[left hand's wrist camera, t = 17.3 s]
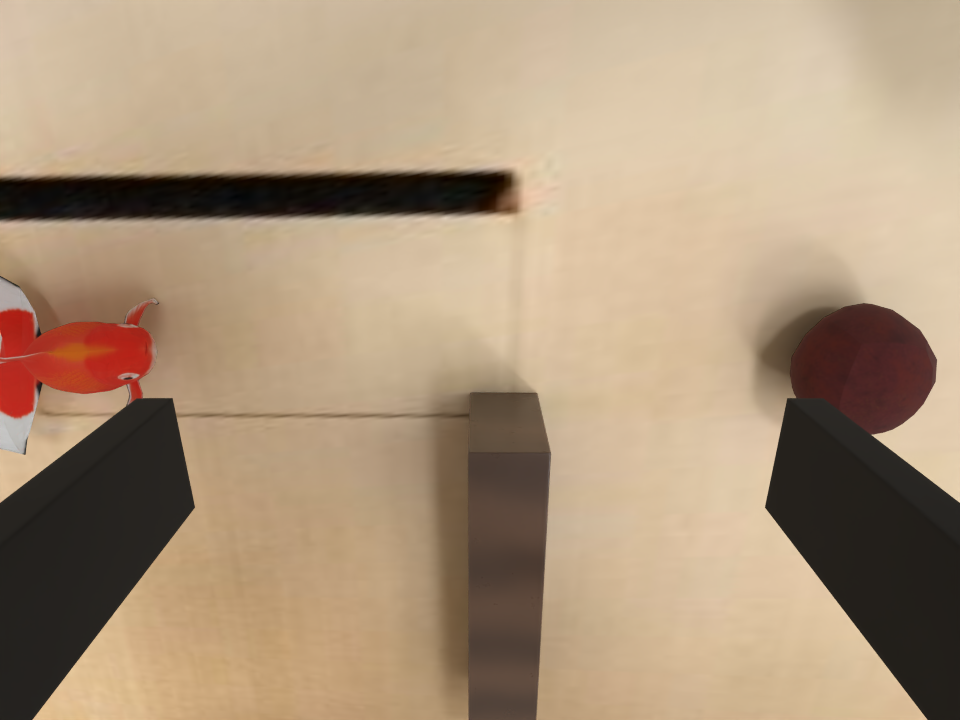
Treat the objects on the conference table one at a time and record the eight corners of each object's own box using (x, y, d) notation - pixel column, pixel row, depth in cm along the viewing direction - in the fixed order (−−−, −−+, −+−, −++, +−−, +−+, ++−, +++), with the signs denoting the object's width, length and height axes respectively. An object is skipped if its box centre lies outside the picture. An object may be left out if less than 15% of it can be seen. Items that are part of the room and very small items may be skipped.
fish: (193, 484, 36) (13, 517, 27) (36, 423, 42) (-156, 431, 33) (226, 314, 36) (56, 287, 27) (64, 275, 42) (-122, 242, 33)
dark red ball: (758, 402, 39) (814, 455, 33) (784, 288, 37) (851, 322, 30) (867, 406, 39) (945, 460, 33) (901, 293, 37) (994, 328, 30)
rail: (470, 392, 39) (467, 452, 32) (537, 392, 39) (551, 453, 32) (470, 680, 49) (468, 779, 41) (524, 680, 49) (533, 779, 41)
